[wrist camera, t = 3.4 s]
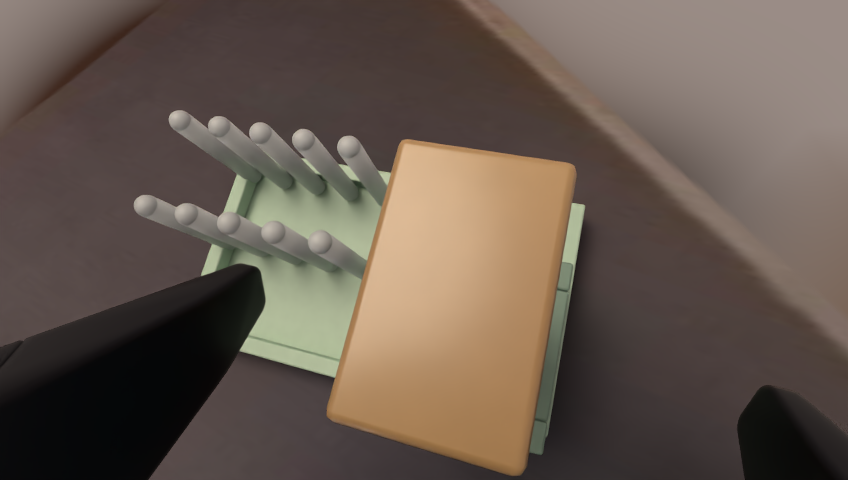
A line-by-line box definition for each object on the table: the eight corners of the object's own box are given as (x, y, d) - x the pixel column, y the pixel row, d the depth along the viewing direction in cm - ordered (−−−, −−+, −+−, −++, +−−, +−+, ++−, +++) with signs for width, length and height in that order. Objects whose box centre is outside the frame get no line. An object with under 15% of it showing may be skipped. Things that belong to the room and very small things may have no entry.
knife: (498, 386, 15) (516, 536, 3) (458, 376, 15) (306, 466, 3) (513, 307, 16) (586, 124, 3) (475, 298, 16) (407, 100, 3)
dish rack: (542, 430, 15) (570, 474, 10) (203, 336, 18) (72, 327, 12) (578, 217, 17) (620, 148, 11) (263, 163, 20) (171, 86, 14)
